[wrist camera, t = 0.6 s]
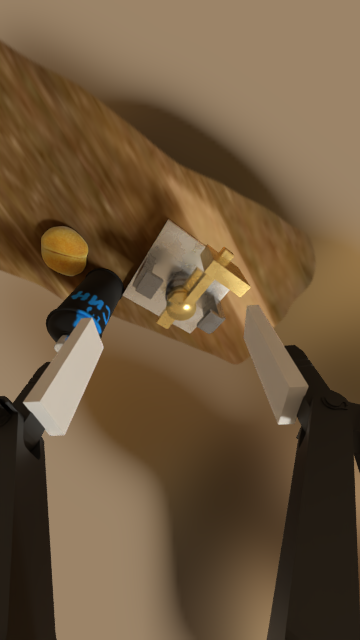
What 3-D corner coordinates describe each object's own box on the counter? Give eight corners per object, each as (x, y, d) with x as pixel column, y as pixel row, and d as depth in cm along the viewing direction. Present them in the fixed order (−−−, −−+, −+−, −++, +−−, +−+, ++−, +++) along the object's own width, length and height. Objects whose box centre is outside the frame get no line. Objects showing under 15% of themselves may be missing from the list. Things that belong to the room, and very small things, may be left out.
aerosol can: (106, 309, 49) (69, 377, 32) (76, 283, 45) (17, 345, 29) (132, 289, 46) (104, 352, 29) (102, 259, 42) (51, 313, 26)
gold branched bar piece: (149, 314, 42) (141, 351, 33) (209, 232, 33) (220, 252, 24) (174, 328, 44) (173, 367, 35) (237, 254, 35) (257, 280, 26)
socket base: (123, 292, 46) (111, 316, 38) (168, 218, 38) (165, 229, 30) (190, 330, 52) (191, 358, 44) (241, 273, 44) (255, 294, 36)
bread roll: (92, 234, 40) (84, 239, 37) (85, 276, 45) (78, 284, 41) (45, 217, 38) (32, 220, 35) (44, 262, 43) (32, 269, 40)
